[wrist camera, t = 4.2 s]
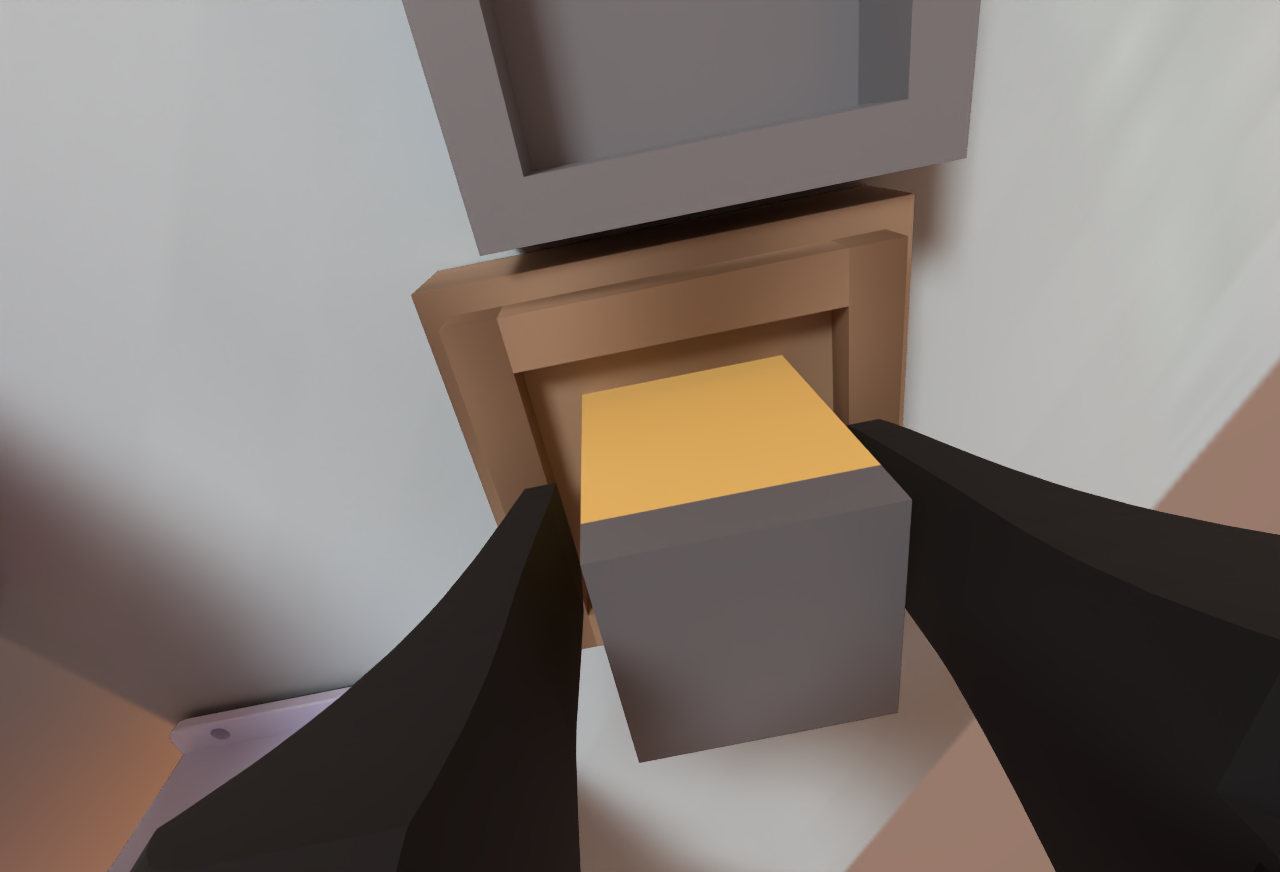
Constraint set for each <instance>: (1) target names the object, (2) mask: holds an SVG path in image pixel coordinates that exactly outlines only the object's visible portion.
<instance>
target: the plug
mask: <svg viewBox="0 0 1280 872" xmlns="http://www.w3.org/2000/svg"><path fill="white" fill-rule="evenodd" d="M911 509H912V499H911V498H910V497H909V495H908V494H907V493H906V492H905V491H904V490H903V489H902V488H901V487H900V485H899V484H898V483H897V482H896V481H895V480H894V479H893V478H892V477H891V476H890V474H889V473H888V472H887V471H886V470H885V469H884V468H883V467H882V466H881V464H880V463H879V462H878V461H877V460H876V459H875V458H874V457H873V456H872V454H871V453H870V452H869V451H868V450H867V449H866V448H865V447H864V446H863V444H862V443H861V442H860V441H859V440H858V439H857V438H856V437H855V436H854V434H853V433H852V432H851V431H850V430H849V429H848V428H847V427H846V426H845V424H844V423H843V422H842V421H841V420H840V419H839V418H838V417H837V416H836V414H835V413H834V412H833V411H832V410H831V409H830V408H829V407H828V406H827V404H826V403H825V402H824V401H823V400H822V399H821V398H820V397H819V396H818V394H817V393H816V392H815V391H814V390H813V389H812V388H811V387H810V386H809V384H808V383H807V382H806V381H805V380H804V379H803V378H802V377H801V376H800V374H799V373H798V372H797V371H796V370H795V369H794V368H793V367H792V366H791V364H790V363H789V362H788V361H787V360H786V359H785V358H784V357H783V356H782V355H780V356H775V357H770V358H765V359H760V360H755V361H750V362H745V363H740V364H735V365H730V366H725V367H720V368H715V369H710V370H705V371H700V372H695V373H690V374H685V375H680V376H675V377H670V378H664V379H659V380H654V381H649V382H644V383H639V384H634V385H629V386H624V387H619V388H614V389H609V390H604V391H599V392H594V393H589V394H584V395H582V446H581V527H580V566H581V570H582V573H583V576H584V580H585V583H586V586H587V590H588V593H589V596H590V600H591V603H592V606H593V610H594V613H595V617H596V620H597V623H598V627H599V630H600V633H601V637H602V640H603V643H604V647H605V650H606V653H607V657H608V660H609V663H610V667H611V670H612V673H613V677H614V680H615V683H616V687H617V690H618V693H619V697H620V700H621V703H622V707H623V710H624V713H625V717H626V720H627V723H628V727H629V730H630V733H631V737H632V740H633V743H634V747H635V750H636V753H637V757H638V760H639V763H641V762H646V761H651V760H656V759H662V758H667V757H672V756H677V755H682V754H687V753H693V752H698V751H703V750H708V749H713V748H718V747H724V746H729V745H734V744H739V743H744V742H749V741H755V740H760V739H765V738H770V737H775V736H780V735H786V734H791V733H796V732H801V731H806V730H811V729H817V728H822V727H827V726H832V725H837V724H842V723H848V722H853V721H858V720H863V719H868V718H873V717H879V716H884V715H889V714H894V713H898V703H899V688H900V673H901V658H902V644H903V629H904V614H905V599H906V584H907V569H908V554H909V539H910V524H911Z"/></svg>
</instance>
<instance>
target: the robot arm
mask: <svg viewBox="0 0 1280 872" xmlns="http://www.w3.org/2000/svg"><path fill="white" fill-rule="evenodd" d="M847 428H848V429H849V430H850V431H851V432H852V433H853V434H854V436H855V437H856V438H857V439H858V440H859V441H860V442H861V443H862V444H863V446H864V447H865V448H866V449H867V450H868V451H869V452H870V453H871V454H872V456H873V457H874V458H875V459H876V460H877V461H878V462H879V463H880V464H881V466H882V467H883V468H884V469H885V470H886V471H887V472H888V473H889V474H890V476H891V477H892V478H893V479H894V480H895V481H896V482H897V483H898V484H899V485H900V487H901V488H902V489H903V490H904V491H905V492H906V493H907V494H908V495H909V497H910V498H911V499H912V509H911V524H910V539H909V554H908V569H907V584H906V599H905V608H906V610H907V611H908V613H909V614H910V615H911V617H912V618H913V620H914V621H915V622H916V624H917V625H918V627H919V628H920V630H921V631H922V632H923V634H924V635H925V637H926V638H927V639H928V641H929V642H930V644H931V645H932V647H933V648H934V649H935V651H936V652H937V654H938V655H939V657H940V658H941V660H942V661H943V663H944V664H945V666H946V668H947V669H948V671H949V672H950V674H951V675H952V677H953V679H954V680H955V682H956V684H957V686H958V687H959V689H960V691H961V693H962V694H963V696H964V698H965V700H966V702H967V703H968V705H969V707H970V709H971V710H972V712H973V714H974V716H975V718H976V719H977V721H978V723H979V725H980V726H981V728H982V730H983V732H984V733H985V735H986V737H987V739H988V741H989V743H990V745H991V746H992V749H993V750H994V752H995V754H996V756H997V757H998V760H999V761H1000V763H1001V765H1002V767H1003V769H1004V771H1005V773H1006V775H1007V777H1008V778H1009V780H1010V782H1011V784H1012V786H1013V788H1014V790H1015V791H1016V794H1017V795H1018V797H1019V799H1020V801H1021V803H1022V805H1023V807H1024V809H1025V811H1026V813H1027V815H1028V817H1029V819H1030V821H1031V823H1032V825H1033V827H1034V829H1035V831H1036V833H1037V835H1038V837H1039V839H1040V841H1041V843H1042V845H1043V847H1044V849H1045V851H1046V853H1047V855H1048V857H1049V859H1050V861H1051V863H1052V865H1053V867H1054V869H1055V871H1056V872H1280V535H1277V534H1271V533H1265V532H1259V531H1254V530H1248V529H1242V528H1237V527H1231V526H1226V525H1220V524H1216V523H1212V522H1207V521H1202V520H1197V519H1192V518H1188V517H1182V516H1178V515H1173V514H1168V513H1163V512H1159V511H1155V510H1151V509H1147V508H1142V507H1138V506H1134V505H1130V504H1126V503H1122V502H1119V501H1115V500H1111V499H1108V498H1104V497H1100V496H1096V495H1093V494H1089V493H1085V492H1082V491H1078V490H1075V489H1071V488H1068V487H1065V486H1061V485H1058V484H1055V483H1052V482H1049V481H1046V480H1043V479H1040V478H1037V477H1034V476H1031V475H1028V474H1025V473H1022V472H1019V471H1016V470H1013V469H1010V468H1008V467H1005V466H1002V465H999V464H997V463H994V462H991V461H989V460H986V459H983V458H981V457H978V456H975V455H973V454H970V453H968V452H965V451H963V450H960V449H958V448H955V447H953V446H950V445H948V444H945V443H943V442H940V441H938V440H935V439H933V438H930V437H928V436H925V435H923V434H920V433H918V432H915V431H913V430H910V429H908V428H905V427H902V426H900V425H897V424H894V423H891V422H888V421H885V420H882V419H876V420H870V421H865V422H860V423H855V424H850V425H847ZM583 617H584V607H583V589H582V574H581V566H580V561H579V557H578V554H577V550H576V547H575V544H574V540H573V537H572V534H571V530H570V527H569V524H568V520H567V517H566V514H565V510H564V507H563V504H562V500H561V497H560V494H559V490H558V487H557V483H552V484H547V485H542V486H537V487H532V488H527V489H524V491H523V492H522V493H521V495H520V496H519V498H518V499H517V500H516V502H515V503H514V505H513V506H512V507H511V509H510V510H509V512H508V513H507V515H506V516H505V517H504V519H503V520H502V522H501V523H500V525H499V526H498V527H497V529H496V530H495V532H494V533H493V535H492V536H491V537H490V539H489V540H488V541H487V543H486V544H485V546H484V547H483V548H482V550H481V551H480V552H479V554H478V555H477V556H476V558H475V559H474V560H473V562H472V563H471V564H470V565H469V567H468V568H467V569H466V570H465V571H464V573H463V574H462V575H461V576H460V578H459V579H458V580H457V581H456V582H455V584H454V585H453V586H452V587H451V589H450V590H449V591H448V592H447V593H446V595H445V596H444V597H443V598H442V599H441V600H440V602H439V603H438V604H437V605H436V606H435V607H434V608H433V609H432V610H431V612H430V613H429V614H428V615H427V616H426V617H425V618H424V619H423V620H422V621H421V622H420V623H419V624H418V625H417V626H416V627H415V628H414V629H413V630H412V631H411V632H410V633H409V634H408V635H407V636H406V637H405V638H404V639H403V640H402V641H401V642H400V643H399V644H398V645H397V646H396V647H395V648H394V649H393V650H392V651H391V652H390V653H389V654H388V655H387V656H385V657H384V658H383V659H382V660H381V661H380V662H379V663H378V664H376V665H375V666H374V667H373V668H372V669H371V670H370V671H369V672H367V673H366V674H365V675H364V676H363V677H362V678H361V679H360V680H359V681H357V682H356V683H355V684H354V685H353V686H352V687H347V688H342V689H337V690H332V691H327V692H322V693H316V694H311V695H306V696H301V697H296V698H291V699H286V700H281V701H276V702H270V703H265V704H260V705H255V706H250V707H245V708H240V709H235V710H230V711H224V712H219V713H214V714H209V715H204V716H199V717H194V718H189V719H185V720H182V721H180V722H179V723H178V724H177V725H176V726H175V728H174V729H173V730H172V732H171V733H170V740H171V741H172V743H173V744H174V745H175V746H176V747H177V749H178V750H179V751H180V752H181V753H182V754H183V756H182V758H181V759H180V761H179V763H178V764H177V766H176V767H175V769H174V770H173V772H172V773H171V775H170V776H169V778H168V780H167V781H166V783H165V784H164V786H163V787H162V789H161V790H160V792H159V793H158V795H157V796H156V798H155V799H154V801H153V802H152V804H151V806H150V807H149V809H148V810H147V812H146V813H145V815H144V816H143V818H142V819H141V821H140V823H139V824H138V826H137V827H136V829H135V830H134V832H133V833H132V835H131V836H130V838H129V840H128V841H127V843H126V844H125V846H124V847H123V849H122V850H121V852H120V853H119V855H118V856H117V858H116V859H115V861H114V862H113V864H112V866H111V867H110V869H109V870H108V872H581V871H580V848H579V825H578V800H577V768H576V729H577V711H578V696H579V681H580V666H581V651H582V634H583Z"/></svg>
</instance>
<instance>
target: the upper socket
mask: <svg viewBox="0 0 1280 872" xmlns="http://www.w3.org/2000/svg"><path fill="white" fill-rule="evenodd" d="M914 200H915V194H913V193H907V192H901V191H896V190H890V189H884V188H878V187H873V186H867V185H863V186H858V187H853V188H848V189H843V190H838V191H833V192H828V193H823V194H818V195H813V196H809V197H804V198H799V199H794V200H789V201H784V202H779V203H774V204H769V205H764V206H759V207H754V208H749V209H744V210H739V211H734V212H729V213H724V214H719V215H714V216H709V217H704V218H699V219H694V220H689V221H684V222H680V223H675V224H670V225H665V226H660V227H655V228H650V229H645V230H640V231H635V232H630V233H625V234H620V235H615V236H610V237H605V238H600V239H595V240H590V241H585V242H580V243H575V244H570V245H565V246H560V247H555V248H550V249H546V250H541V251H536V252H531V253H526V254H521V255H516V256H511V257H506V258H501V259H496V260H491V261H486V262H481V263H476V264H471V265H466V266H461V267H456V268H451V269H446V270H441V271H437V272H436V273H435V274H434V275H433V276H432V277H431V278H429V279H428V280H427V281H426V282H425V283H424V284H423V285H422V286H421V287H420V288H418V289H417V290H416V291H415V292H414V293H413V294H412V295H411V296H412V299H413V302H414V304H415V307H416V310H417V312H418V315H419V318H420V320H421V323H422V326H423V328H424V331H425V334H426V336H427V339H428V342H429V344H430V347H431V350H432V352H433V355H434V358H435V360H436V363H437V366H438V368H439V371H440V374H441V376H442V379H443V382H444V384H445V387H446V390H447V392H448V395H449V398H450V400H451V403H452V406H453V408H454V411H455V414H456V416H457V419H458V422H459V424H460V427H461V430H462V432H463V435H464V438H465V440H466V443H467V446H468V448H469V451H470V454H471V456H472V459H473V462H474V464H475V467H476V470H477V472H478V475H479V478H480V480H481V483H482V486H483V488H484V491H485V494H486V496H487V499H488V502H489V504H490V507H491V510H492V512H493V515H494V518H495V520H496V523H497V526H499V525H500V523H501V522H502V520H503V519H504V517H505V516H506V515H507V513H508V512H509V510H510V509H511V507H512V506H513V505H514V503H515V502H516V500H517V499H518V498H519V496H520V495H521V493H522V492H523V491H524V489H527V488H532V487H537V486H542V485H547V484H552V483H557V487H558V490H559V494H560V497H561V500H562V504H563V507H564V510H565V514H566V517H567V520H568V524H569V527H570V530H571V534H572V537H573V540H574V544H575V547H576V550H577V554H578V557H579V561H580V527H581V446H582V395H584V394H589V393H594V392H599V391H604V390H609V389H614V388H619V387H624V386H629V385H634V384H639V383H644V382H649V381H654V380H659V379H664V378H670V377H675V376H680V375H685V374H690V373H695V372H700V371H705V370H710V369H715V368H720V367H725V366H730V365H735V364H740V363H745V362H750V361H755V360H760V359H765V358H770V357H775V356H780V355H782V356H783V357H784V358H785V359H786V360H787V361H788V362H789V363H790V364H791V366H792V367H793V368H794V369H795V370H796V371H797V372H798V373H799V374H800V376H801V377H802V378H803V379H804V380H805V381H806V382H807V383H808V384H809V386H810V387H811V388H812V389H813V390H814V391H815V392H816V393H817V394H818V396H819V397H820V398H821V399H822V400H823V401H824V402H825V403H826V404H827V406H828V407H829V408H830V409H831V410H832V411H833V412H834V413H835V414H836V416H837V417H838V418H839V419H840V420H841V421H842V422H843V423H844V424H845V426H846V427H847V425H850V424H855V423H860V422H865V421H870V420H876V419H882V420H885V421H888V422H891V423H894V424H897V425H900V426H902V427H903V408H904V389H905V370H906V351H907V332H908V313H909V294H910V275H911V256H912V238H913V219H914ZM581 574H582V589H583V607H584V617H583V634H582V649H585V648H590V647H595V646H601V645H604V643H603V640H602V637H601V633H600V630H599V627H598V623H597V620H596V617H595V613H594V610H593V606H592V603H591V600H590V596H589V593H588V590H587V586H586V583H585V580H584V576H583V573H582V570H581Z"/></svg>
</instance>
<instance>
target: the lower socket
mask: <svg viewBox="0 0 1280 872" xmlns="http://www.w3.org/2000/svg"><path fill="white" fill-rule="evenodd" d="M402 2H403V5H404V9H405V12H406V15H407V18H408V22H409V25H410V28H411V31H412V35H413V38H414V41H415V45H416V48H417V51H418V54H419V58H420V61H421V64H422V67H423V71H424V74H425V77H426V81H427V84H428V87H429V90H430V94H431V97H432V100H433V103H434V107H435V110H436V113H437V117H438V120H439V123H440V126H441V130H442V133H443V136H444V139H445V143H446V146H447V149H448V153H449V156H450V159H451V162H452V166H453V169H454V172H455V175H456V179H457V182H458V185H459V189H460V192H461V195H462V198H463V202H464V205H465V208H466V211H467V215H468V218H469V221H470V225H471V228H472V231H473V234H474V238H475V241H476V244H477V247H478V251H479V254H480V256H482V255H487V254H492V253H497V252H502V251H507V250H512V249H517V248H522V247H527V246H532V245H537V244H542V243H547V242H552V241H557V240H562V239H567V238H571V237H576V236H581V235H586V234H591V233H596V232H601V231H606V230H611V229H616V228H621V227H626V226H631V225H636V224H641V223H646V222H651V221H656V220H661V219H666V218H671V217H676V216H681V215H686V214H690V213H695V212H700V211H705V210H710V209H715V208H720V207H725V206H730V205H735V204H740V203H745V202H750V201H755V200H760V199H765V198H770V197H775V196H780V195H785V194H790V193H795V192H800V191H805V190H810V189H814V188H819V187H824V186H829V185H834V184H839V183H844V182H849V181H854V180H859V179H864V178H869V177H874V176H879V175H884V174H889V173H894V172H899V171H904V170H909V169H914V168H919V167H924V166H929V165H934V164H938V163H943V162H948V161H953V160H958V159H963V158H966V156H967V145H968V134H969V123H970V112H971V101H972V90H973V79H974V68H975V57H976V46H977V35H978V24H979V13H980V2H981V0H402Z"/></svg>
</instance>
